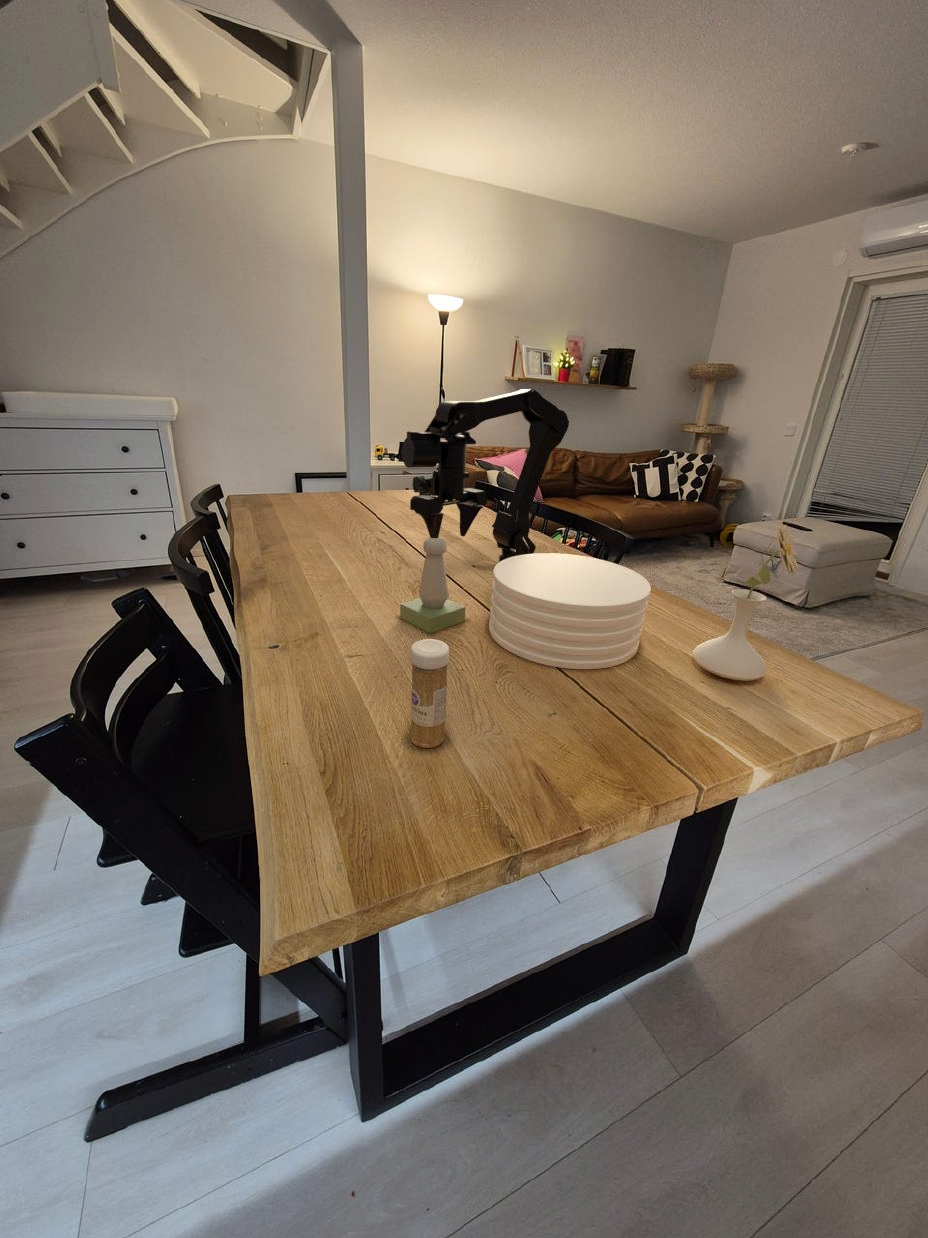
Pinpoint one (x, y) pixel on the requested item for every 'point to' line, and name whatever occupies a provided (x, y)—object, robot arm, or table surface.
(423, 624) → the green block
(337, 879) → the table surface
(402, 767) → the table surface
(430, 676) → the sprinkles bottle
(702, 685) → the table surface
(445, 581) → the salt shaker
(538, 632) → the plate stack
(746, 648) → the flower in vase
